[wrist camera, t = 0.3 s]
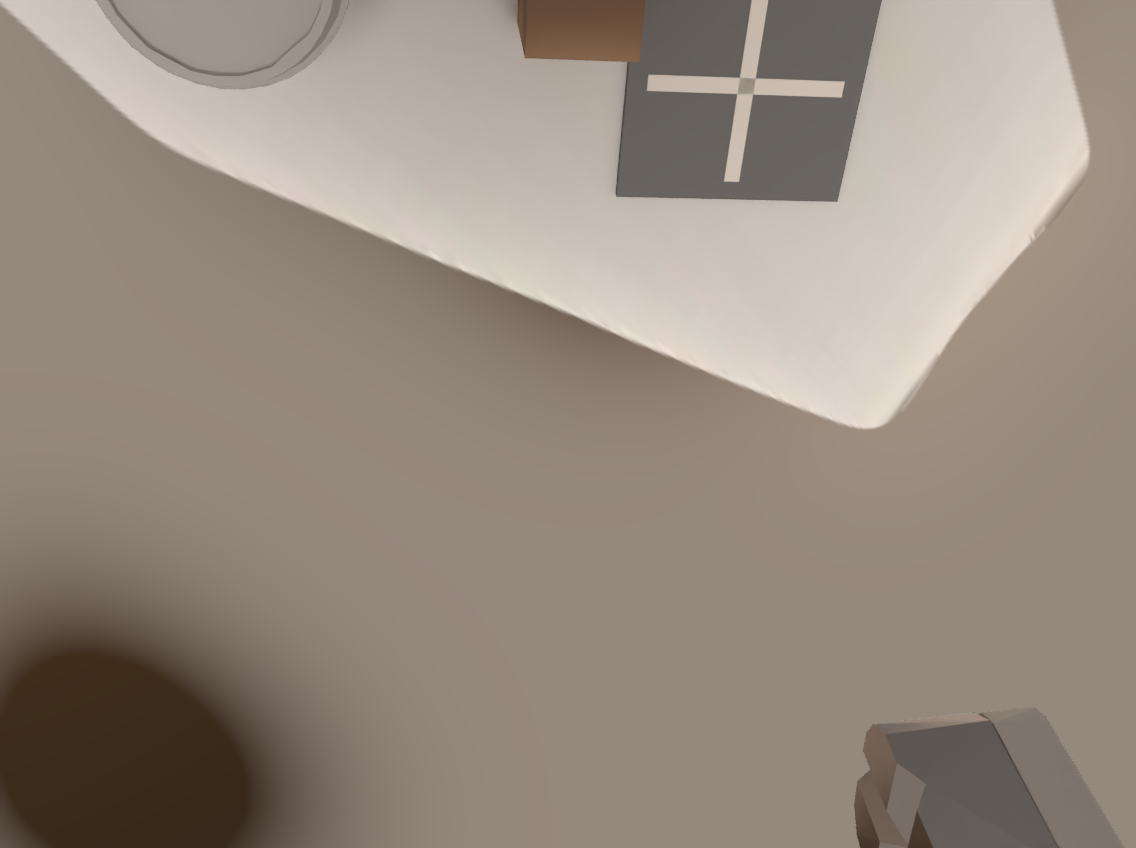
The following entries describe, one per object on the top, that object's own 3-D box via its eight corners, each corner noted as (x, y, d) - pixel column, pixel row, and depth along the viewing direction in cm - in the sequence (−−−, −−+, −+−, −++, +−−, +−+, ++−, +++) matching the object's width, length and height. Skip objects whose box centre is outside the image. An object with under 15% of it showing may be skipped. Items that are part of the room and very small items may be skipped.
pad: (638, -51, 49) (640, -49, 49) (887, -39, 50) (890, -37, 50) (615, 193, 56) (616, 197, 55) (835, 198, 57) (837, 201, 57)
